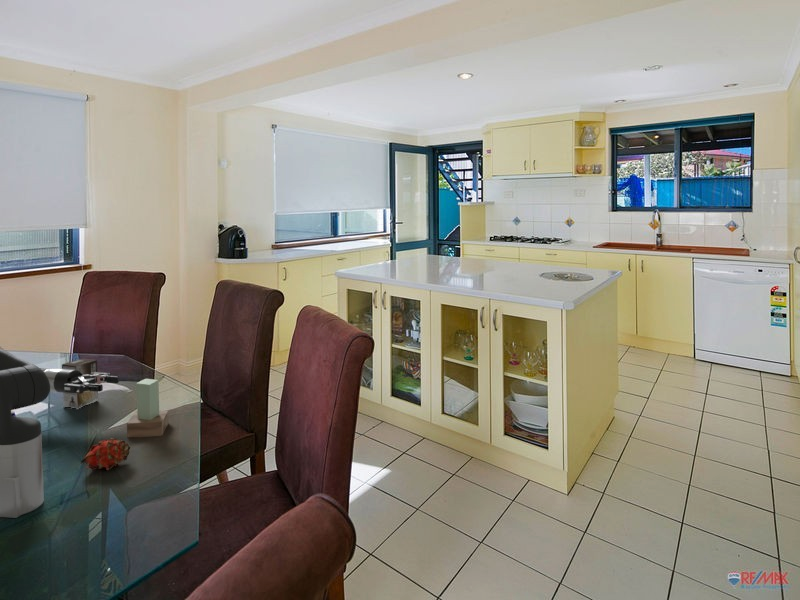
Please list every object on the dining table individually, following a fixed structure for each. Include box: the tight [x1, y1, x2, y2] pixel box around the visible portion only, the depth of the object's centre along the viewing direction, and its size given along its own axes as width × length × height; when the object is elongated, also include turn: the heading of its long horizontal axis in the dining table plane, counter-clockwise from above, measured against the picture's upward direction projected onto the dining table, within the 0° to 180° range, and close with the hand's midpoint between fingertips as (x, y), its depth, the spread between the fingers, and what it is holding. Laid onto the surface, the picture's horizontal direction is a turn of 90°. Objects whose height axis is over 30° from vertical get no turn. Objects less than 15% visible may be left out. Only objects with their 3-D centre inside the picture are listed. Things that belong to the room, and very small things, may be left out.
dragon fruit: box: [80, 437, 131, 471], centre depth 131 cm, size 8×8×12 cm
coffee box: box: [61, 357, 99, 408], centre depth 172 cm, size 9×6×16 cm
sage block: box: [135, 378, 160, 420], centre depth 154 cm, size 4×4×12 cm
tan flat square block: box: [126, 409, 169, 438], centre depth 156 cm, size 10×10×5 cm
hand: (110, 383), depth 154 cm, fingers open, 8 cm apart
